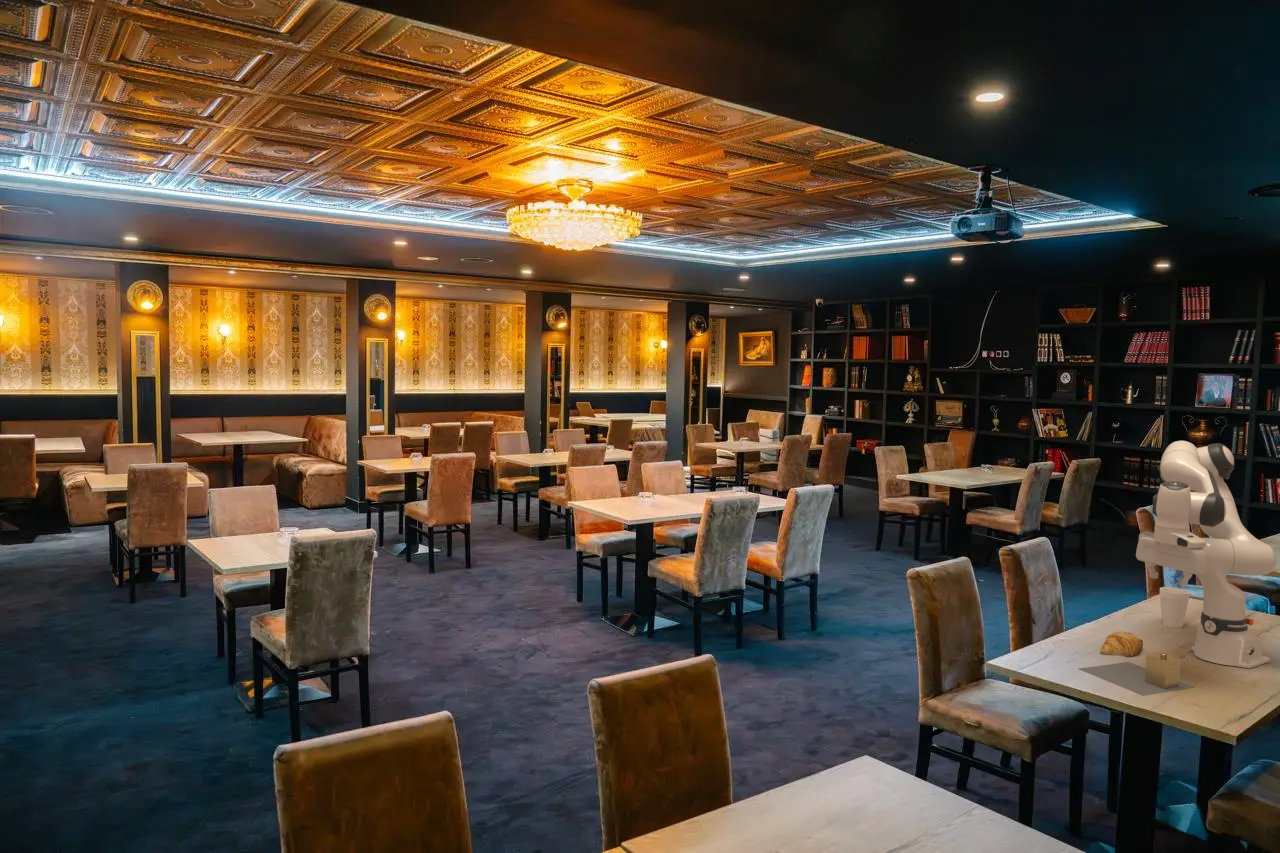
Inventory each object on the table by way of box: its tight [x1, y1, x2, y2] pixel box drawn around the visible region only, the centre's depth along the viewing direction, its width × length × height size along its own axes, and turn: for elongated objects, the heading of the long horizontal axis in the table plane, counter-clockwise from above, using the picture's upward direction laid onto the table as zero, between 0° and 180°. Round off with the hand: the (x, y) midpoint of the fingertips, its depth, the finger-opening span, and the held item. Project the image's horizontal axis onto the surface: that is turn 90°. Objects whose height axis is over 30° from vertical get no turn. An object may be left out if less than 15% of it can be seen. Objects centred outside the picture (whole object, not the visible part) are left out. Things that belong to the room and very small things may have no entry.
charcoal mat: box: [1078, 661, 1196, 697], centre depth 251 cm, size 21×22×1 cm
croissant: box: [1100, 631, 1144, 658], centre depth 276 cm, size 21×10×8 cm, turn 120°
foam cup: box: [1158, 586, 1191, 629], centre depth 307 cm, size 10×9×13 cm
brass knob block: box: [1145, 652, 1182, 689], centre depth 246 cm, size 6×6×9 cm
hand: (1168, 581), depth 252 cm, fingers open, 8 cm apart
